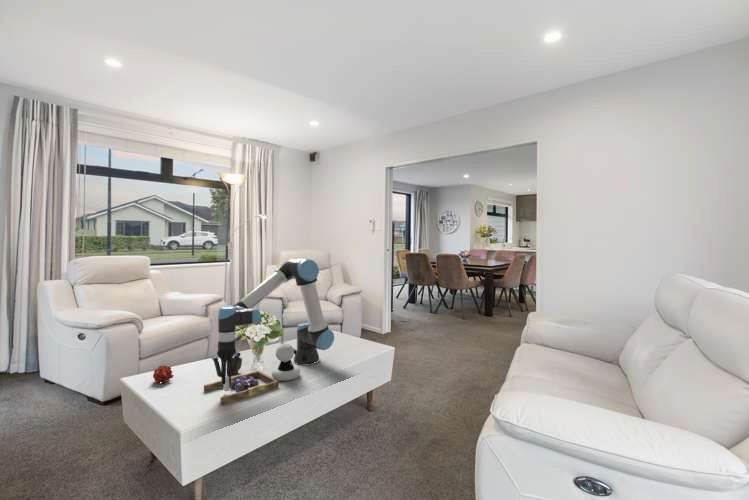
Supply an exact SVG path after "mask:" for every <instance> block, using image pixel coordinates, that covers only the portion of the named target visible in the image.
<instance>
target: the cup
mask: <svg viewBox="0 0 749 500" xmlns="http://www.w3.org/2000/svg"><path fill="white" fill-rule="evenodd" d="M233 359H234V356H233V357H232V363H233ZM242 364H243V358H242V357H241V356H239V358H238V362H237V367H236V371H235V374H234V375H236V374H238V373H239V371H240V369H242ZM231 367H232V364H231Z"/></svg>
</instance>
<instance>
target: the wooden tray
mask: <svg viewBox="0 0 749 500" xmlns="http://www.w3.org/2000/svg"><path fill="white" fill-rule="evenodd" d="M242 376H244V377H246V378H247V380H248V379H250V376H251V377H253V378H254V379H259V380H261V381H263V382H265V383H263V384H259V385H258V386H255V387H251V388H248V390H244V391H241V392H238V393H236V392H235V393H232V394H228V395H224V396H221V397H220V406H224V405H227V404H230V403H233V402H237V401H240V400H242V399H243V400H244V399H245V398H249V397H252V396H255V395H258V394H263V393H265V392H269V391H271V389H272V390H274V388H275V389H277V387H278V388H279V385H280V384H279V383H280V381H279V380H276V379H274V378H273V377H271V376H269V375H267V374H266V373H263V372H262V371H260V370H256V371H252V372H248V373H242V374H241V373H240V374H238V375H233V376H231V381H235V380H236V379H241V377H242ZM221 382H222V380H218V381H214V382H211V383H207V384H204V385H203V392H204V393H207V392H211V391H213V390H218V389H221V388H222V389H223V384H222V383H221Z"/></svg>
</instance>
